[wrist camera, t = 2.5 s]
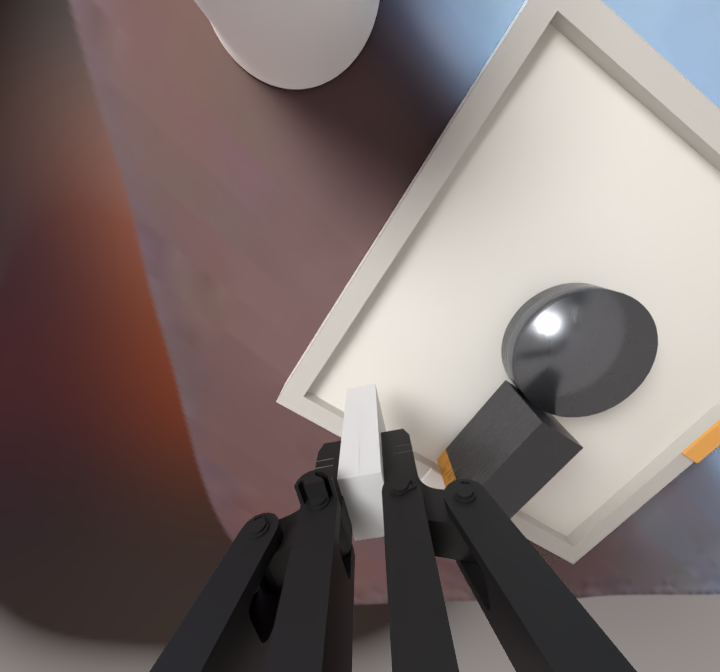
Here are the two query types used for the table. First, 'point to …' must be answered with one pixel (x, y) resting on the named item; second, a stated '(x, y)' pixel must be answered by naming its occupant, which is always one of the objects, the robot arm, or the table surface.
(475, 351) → the white square tray
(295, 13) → the mug
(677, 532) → the table surface
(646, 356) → the dark grey handled piece
